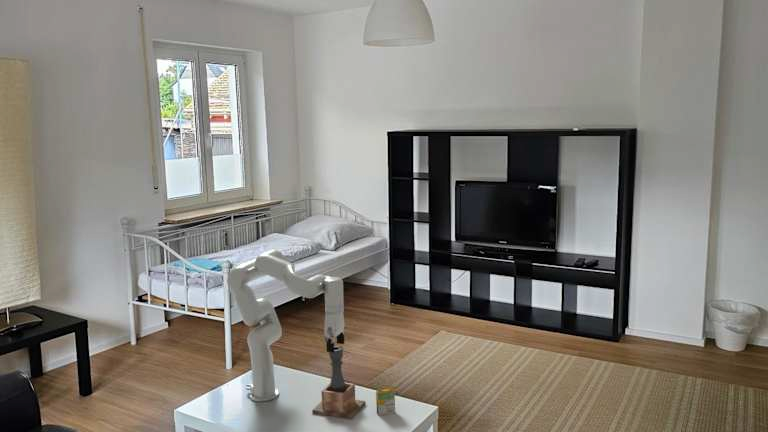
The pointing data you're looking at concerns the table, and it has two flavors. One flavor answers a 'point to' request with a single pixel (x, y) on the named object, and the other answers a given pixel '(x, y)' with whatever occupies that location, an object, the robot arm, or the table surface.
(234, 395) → the table surface
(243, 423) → the table surface
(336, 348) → the candle holder
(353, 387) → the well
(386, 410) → the crayon box
